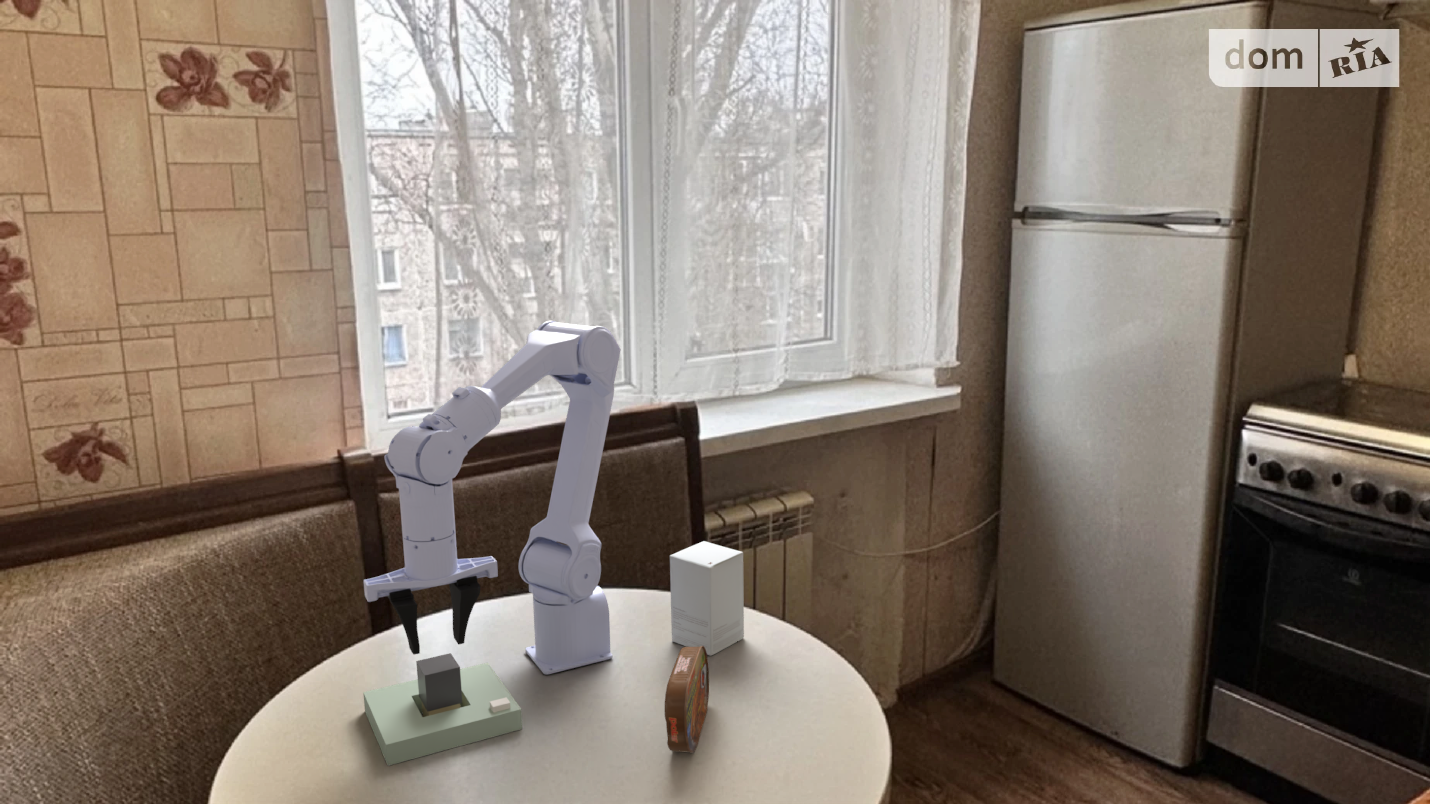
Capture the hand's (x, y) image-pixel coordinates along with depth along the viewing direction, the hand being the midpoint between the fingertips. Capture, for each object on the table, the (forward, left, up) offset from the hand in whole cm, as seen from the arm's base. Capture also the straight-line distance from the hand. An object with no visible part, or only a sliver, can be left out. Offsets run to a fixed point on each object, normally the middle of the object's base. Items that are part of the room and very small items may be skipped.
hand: (437, 645), depth 115 cm
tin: (-24, +16, -10) cm, 30 cm away
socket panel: (0, 0, -9) cm, 9 cm away
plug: (0, 0, -9) cm, 9 cm away
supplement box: (-37, -3, -10) cm, 38 cm away
